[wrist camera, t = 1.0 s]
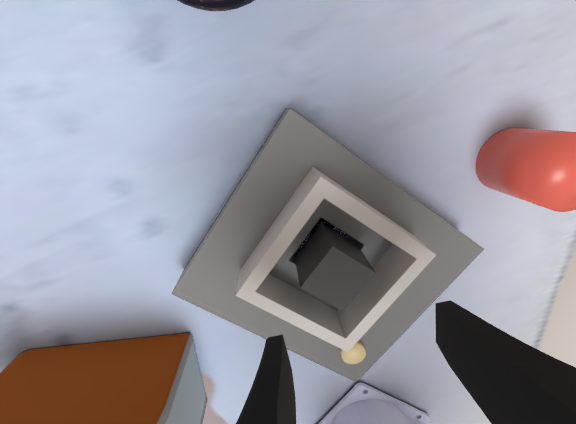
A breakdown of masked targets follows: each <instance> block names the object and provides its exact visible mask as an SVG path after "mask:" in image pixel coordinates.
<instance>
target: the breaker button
mask: <svg viewBox="0 0 576 424" xmlns="http://www.w3.org/2000/svg"><path fill="white" fill-rule="evenodd" d="M295 262H296V268H297V273H298V279H299V284H300V288H301V289H303V290H305V291H307V292H308V293H310V294H312V295H314V296H316V297H318V298H319V299H321V300H323V301H325V302H327V303H328V304H330V305H332V306H334V307H336V308H338V309H339V310H341V311H343V310H344V309H345V308H346V307H347V306H348V305H349V303H350V302H351V301H352V300H353V299H354V298H355V296H356V295H357V294H358V293H359V292H360V291H361V289H362V288H363V287H364V286H365V285H366V284H367V282H368V281H369V280H370V279H371V278H372V277H373V275H374V274H375V273H376V272H375V271H374V269H373V268H372V266H371V265H370V263H369V261H368V260H367V258H366V257H365V255H364V254H363V252H362V251H361V249H360V248H359V246H358V245H357V244H356V243H354V242H353V241H351V240H349V239H348V238H346V237H345V236H343V235H342V234H340V233H338V232H337V231H335V230H334V229H332V228H330V227H329V226H327V225H326V224H324V223H322V222H321V223H320V224H319V225H318V227H317V228H316V229H315V230H314V232H313V233H312V234H311V236H310V237H309V238H308V240H307V241H306V242H305V244H304V245H303V246H302V248H301V249H300V250H299V252H298V253H297V254H296V256H295Z"/></svg>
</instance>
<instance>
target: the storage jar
mask: <svg viewBox="0 0 576 424" xmlns="http://www.w3.org/2000/svg"><path fill="white" fill-rule="evenodd" d="M178 1H180V2H182V3H183V4H186V5H188V6H191V7H194V8H197V9H202V10H208V11H227V10H231V9H236V8H239V7H242V6H244V5H247V4H249V3H251V2H253V1H254V0H178Z"/></svg>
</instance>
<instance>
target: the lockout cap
mask: <svg viewBox="0 0 576 424" xmlns="http://www.w3.org/2000/svg"><path fill="white" fill-rule="evenodd" d="M476 173H477V176H478V178H479V180H480V181H481V183H482V184H484V185H485V186H487V187H489V188H491V189H494V190H497V191H500V192H503V193H506V194H508V195H511V196H514V197H517V198H520V199H522V200H525V201H528V202H531V203H534V204H536V205H539V206H542V207H545V208H548V209H551V210H554V211H559V212H566V211H572V210H575V209H576V132H565V131H552V130H539V129H526V128H507V129H504V130H501V131H499V132H497V133H496V134H494V135H493V136H491V137H490V138H489V139H488V140H487V141H486V142H485V144H484V145H483V146H482V148H481V149H480V151H479V154H478V156H477V160H476Z"/></svg>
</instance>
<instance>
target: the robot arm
mask: <svg viewBox="0 0 576 424" xmlns="http://www.w3.org/2000/svg"><path fill="white" fill-rule="evenodd" d="M436 343H437V344H438V346H439V348H440V350H441V352H442V353H443V355H444V357H445V359H446V360H447V362H448V364H449V365H450V367H451V368H452V370H453V371H454V373H455V374H456V375H457V377H458V378H459V380H460V381H461V382H462V384H463V385H464V387H465V388H466V389H467V391H468V392H469V393H470V395H471V396H472V397H473V399H474V400H475V402H476V403H477V404H478V406H479V407H480V408H481V410H482V411H483V412H484V414H485V415H486V417H487V418H488V419H489V421H490V422H491V423H492V424H576V368H575V367H573V366H571V365H568V364H566V363H564V362H562V361H560V360H557V359H555V358H553V357H551V356H549V355H547V354H545V353H543V352H541V351H539V350H537V349H535V348H533V347H531V346H529V345H527V344H525V343H523V342H522V341H520V340H518V339H516V338H514V337H512V336H510V335H509V334H507V333H505V332H503V331H502V330H500V329H498V328H496V327H494V326H493V325H491V324H489V323H488V322H486V321H484V320H482V319H481V318H479V317H477V316H476V315H474V314H472V313H471V312H469V311H467V310H466V309H464V308H462V307H461V306H459V305H457V304H455V303H454V302H452V301H446V302H441V303H436ZM430 420H431V419H430V416H429V415H428V414H427V413H425V412H423V411H420V410H418V409H416V408H414V407H412V406H410V405H408V404H406V403H404V402H402V401H400V400H398V399H395V398H393V397H391V396H389V395H387V394H385V393H383V392H381V391H379V390H377V389H375V388H372V387H370V386H368V385H366V384H364V383H357V384H356V385H355V386H354V387H353V388H352V389H351V390H350V391H349V392H348V393H347V394H346V396H345V397H344V398H343V399H342V400H341V401H340V402H339V403H338V404H337V405H336V406H335V407H334V408H333V409H332V410H331V411H330V412H329V413H328V414H327V415H326V416H325V417H324V418H323V419H322V420H321V421H320V423H319V424H427V423H429V422H430ZM236 424H296V405H295V391H294V383H293V375H292V369H291V365H290V361H289V357H288V353H287V349H286V345H285V341H284V337H283V334H282V335H277V336H273V337H268V338H267V340H266V343H265V348H264V352H263V355H262V359H261V362H260V365H259V368H258V371H257V374H256V377H255V380H254V382H253V385H252V388H251V390H250V393H249V395H248V398H247V400H246V403H245V405H244V407H243V410H242V412H241V414H240V416H239V419H238V421H237V423H236Z"/></svg>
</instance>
